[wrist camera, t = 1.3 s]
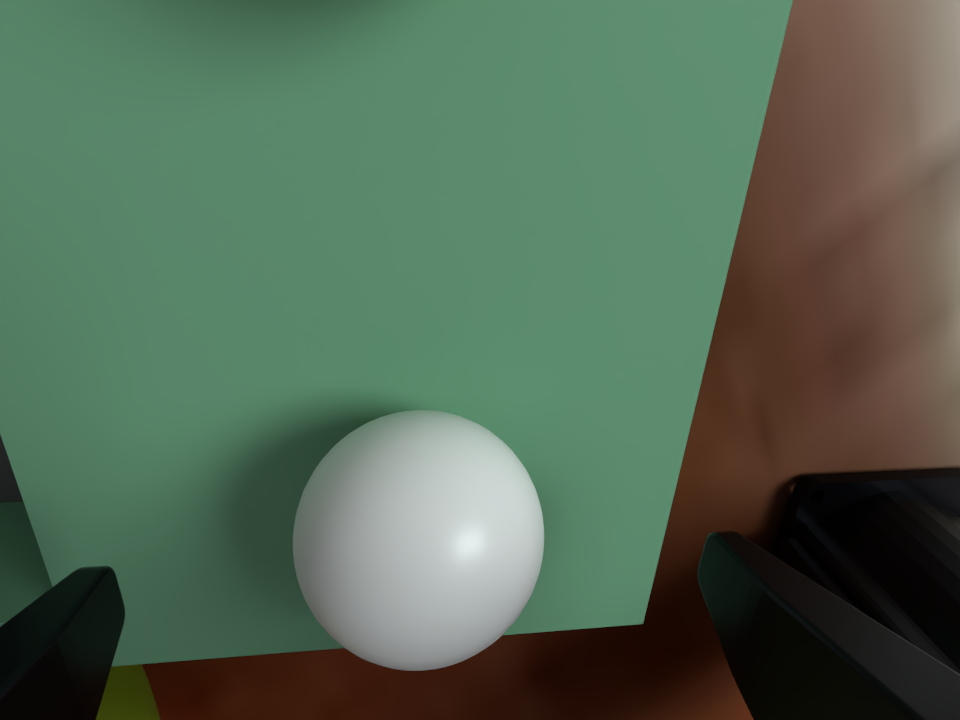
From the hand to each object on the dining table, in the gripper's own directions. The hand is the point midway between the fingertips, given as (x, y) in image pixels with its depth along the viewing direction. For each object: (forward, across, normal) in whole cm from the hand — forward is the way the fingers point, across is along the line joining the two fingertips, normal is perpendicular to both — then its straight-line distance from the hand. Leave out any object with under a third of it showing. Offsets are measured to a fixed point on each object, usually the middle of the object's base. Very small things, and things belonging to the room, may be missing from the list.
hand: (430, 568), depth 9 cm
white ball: (+1, 0, 0) cm, 1 cm away
